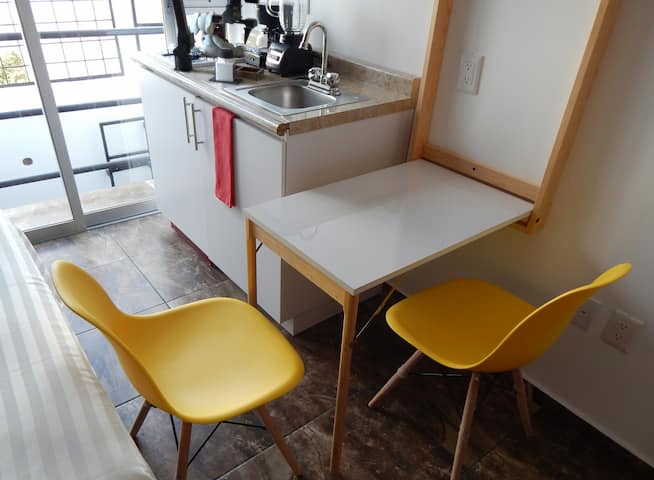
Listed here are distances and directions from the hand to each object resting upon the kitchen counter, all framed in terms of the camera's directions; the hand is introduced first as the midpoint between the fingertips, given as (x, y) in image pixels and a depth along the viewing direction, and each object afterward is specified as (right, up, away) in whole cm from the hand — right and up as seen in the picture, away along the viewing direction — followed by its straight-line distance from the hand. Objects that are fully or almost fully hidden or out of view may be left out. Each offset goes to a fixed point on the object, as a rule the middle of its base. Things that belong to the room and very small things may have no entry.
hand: (234, 43), depth 206 cm
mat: (-3, -16, -1) cm, 17 cm away
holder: (+1, -11, +8) cm, 13 cm away
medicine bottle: (-3, -16, -1) cm, 17 cm away
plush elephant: (-17, +12, +39) cm, 44 cm away
